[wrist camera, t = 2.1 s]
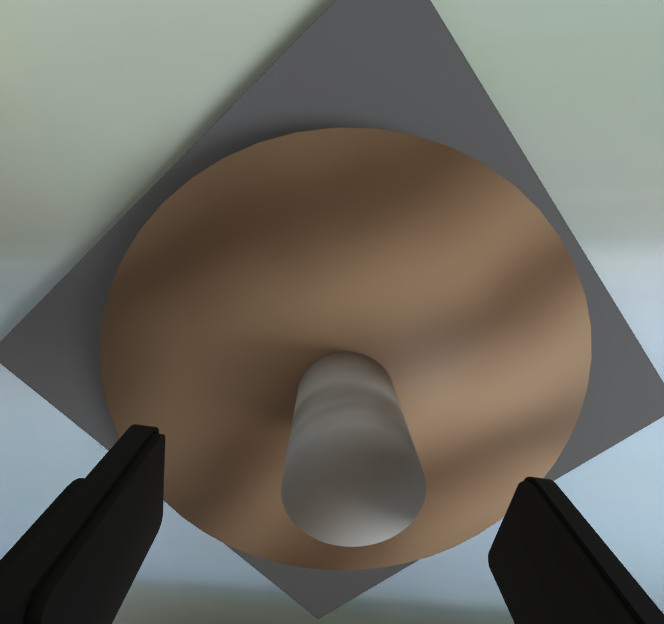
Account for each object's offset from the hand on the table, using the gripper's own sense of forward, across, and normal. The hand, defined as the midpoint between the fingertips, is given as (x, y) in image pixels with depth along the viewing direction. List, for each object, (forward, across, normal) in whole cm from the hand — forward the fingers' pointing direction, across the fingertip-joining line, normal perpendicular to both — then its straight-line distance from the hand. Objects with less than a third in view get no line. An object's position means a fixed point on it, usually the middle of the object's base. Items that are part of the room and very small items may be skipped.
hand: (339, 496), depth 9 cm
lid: (+7, -1, 0) cm, 7 cm away
